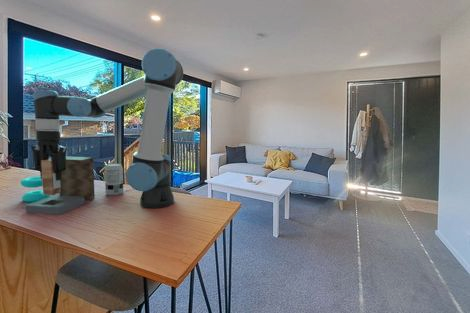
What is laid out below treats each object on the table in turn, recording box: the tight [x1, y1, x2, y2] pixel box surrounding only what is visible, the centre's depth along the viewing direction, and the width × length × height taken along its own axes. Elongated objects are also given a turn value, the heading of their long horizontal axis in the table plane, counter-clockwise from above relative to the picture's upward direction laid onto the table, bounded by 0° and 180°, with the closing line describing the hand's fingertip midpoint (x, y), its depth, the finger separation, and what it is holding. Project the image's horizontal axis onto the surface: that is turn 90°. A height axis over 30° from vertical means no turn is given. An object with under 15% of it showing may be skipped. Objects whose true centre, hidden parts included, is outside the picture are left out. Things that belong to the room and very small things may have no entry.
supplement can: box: [104, 163, 124, 196], centre depth 123 cm, size 8×8×15 cm
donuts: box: [20, 176, 51, 203], centre depth 110 cm, size 10×10×10 cm
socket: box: [25, 194, 85, 216], centre depth 101 cm, size 14×14×3 cm
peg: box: [41, 159, 61, 196], centre depth 97 cm, size 4×4×14 cm
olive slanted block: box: [48, 155, 96, 201], centre depth 110 cm, size 16×8×20 cm, turn 86°
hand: (51, 187), depth 98 cm, fingers closed on peg, 4 cm apart
